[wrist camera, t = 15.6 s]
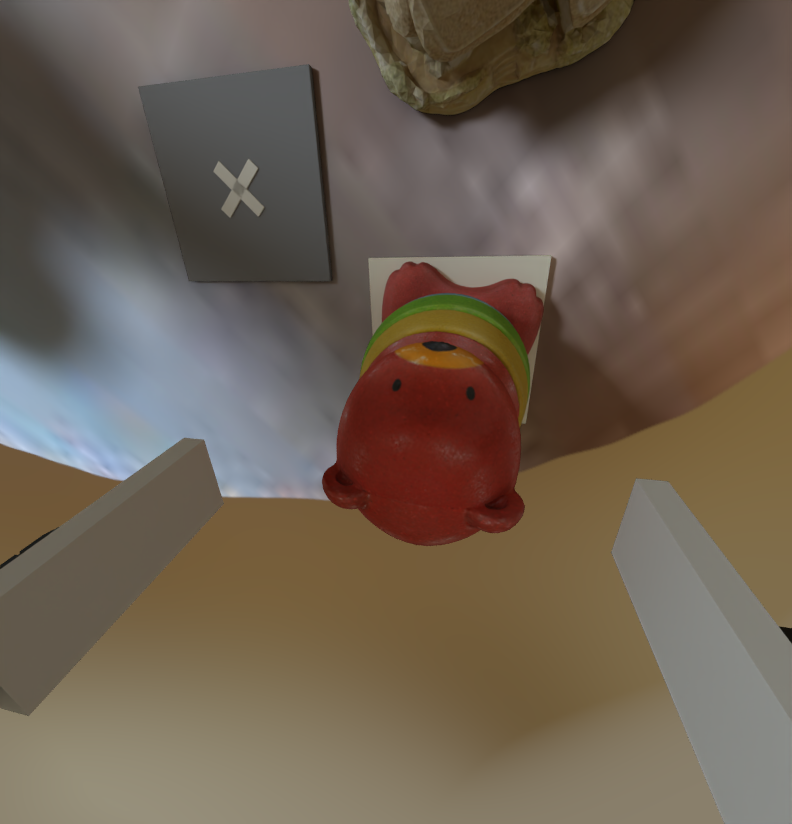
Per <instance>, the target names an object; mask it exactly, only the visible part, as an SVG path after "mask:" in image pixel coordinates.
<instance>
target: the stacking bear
mask: <svg viewBox="0 0 792 824" xmlns="http://www.w3.org/2000/svg"><path fill="white" fill-rule="evenodd" d="M543 312H544V306H543V301H542V300H541V298H539V297H537V296H536V289H535V287H534V286H533V285H531V284H529V283H524V284H522V283H520V282H519V281H518V280H517V279H505V280H502V281H499V282H497V283H494V284H491V285H488V286H483V287H465V286H461V285H458V284H455V283H453V282H451V281H449V280H448V279H446V278H445V277H444V276H443V275H442V274H441V273H440V272H439V271H438V270H437V269H436V268H434V267H433V266H432V265H430V264H428V263H425V262H421V263H419V264H416V263H414V262H412V261H409V262H406V263H404V264H403V265H402V266H401V268H400V269H399V270H395V271H394V272H392V273H391V274H390V276H389V278H388V280H387V283H386V286H385V291H384V296H383V304H382V323H381V325H380V326H379V327H378V329H377V330H376V332H375V333H374V335H373V337H372V338H371V340H370V342H369V344H368V347H367V349H366V352H365V354H364V358H363V361H362V366H361V372H360V378H359V381H358V382H357V384H356V385H355V387H354V389H353V390H352V392H351V394H350V396H349V398H348V400H347V402H346V404H345V407H344V410H343V413H342V416H341V419H340V423H339V428H338V435H337V461H336V463H335V464H334V465H333V466H331V467H330V468H328V469H327V470H326V472H325V473H324V475H323V479H322V484H323V490H324V492H325V494H326V495H327V497H328V498H329V500H330V501H331V502H332V503H334V504H335V505H337V506H339V507H341V508H345V509H357V508H358V509H359V510H360V511H361V513H362V514H363V515H364V516H365V517H366V518H367V519H368V520H369V521H370V522H372V523H373V524H374V525H375V526H377V527H378V528H379V529H381V530H382V531H384V532H385V533H387V534H388V535H390V536H392V537H394V538H396V539H399V540H402V541H404V542H407V543H412V544H415V545H423V546H433V545H443V544H449V543H452V542H456V541H459V540H462V539H464V538H467V537H469V536H471V535H473V534H475V533H476V532H478V531H480V530H482V531H485V532H489V533H500V532H504V531H507V530H509V529H511V528H512V527H513V526H515V525H516V524H517V523H518V522H519V520H520V519H521V517H522V516H523V513H524V508H525V505H524V503H523V500H522V498H521V497H520V496H519V495H518V494H517V492H516V491H515V489H514V487H515V484H516V480H517V475H518V471H519V465H520V455H521V435H520V426H521V424H522V420H523V417H524V414H525V410H526V406H527V402H528V398H529V391H530V367H529V360H528V356H527V355H528V354H529V352H530V350H531V348H532V346H533V344H534V341H535V339H536V336H537V334H538V331H539V328H540V325H541V321H542V317H543Z"/></svg>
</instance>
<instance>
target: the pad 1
mask: <svg viewBox="0 0 792 824" xmlns="http://www.w3.org/2000/svg"><path fill="white" fill-rule="evenodd" d="M138 88H139V92H140V96H141V100H142V104H143V107H144V111H145V115H146V119H147V123H148V126H149V130H150V134H151V138H152V142H153V145H154V149H155V153H156V157H157V161H158V164H159V168H160V172H161V176H162V180H163V183H164V187H165V191H166V195H167V199H168V203H169V206H170V210H171V214H172V218H173V222H174V225H175V229H176V233H177V237H178V241H179V244H180V248H181V252H182V256H183V260H184V263H185V267H186V271H187V275H188V279H189V281H332V273H331V262H330V252H329V242H328V231H327V221H326V211H325V200H324V190H323V180H322V169H321V159H320V149H319V138H318V128H317V118H316V107H315V97H314V87H313V76H312V67H311V66H310V65H309V64H308V65H300V66H293V67H285V68H277V69H270V70H262V71H255V72H247V73H239V74H232V75H224V76H217V77H209V78H201V79H194V80H186V81H179V82H171V83H163V84H156V85H148V86H141V87H138Z"/></svg>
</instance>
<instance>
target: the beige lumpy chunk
mask: <svg viewBox="0 0 792 824" xmlns="http://www.w3.org/2000/svg"><path fill="white" fill-rule="evenodd" d="M633 1H634V0H349V7H350V10H351V13H352V15H353V17H354V21H355V24H356V26H357V28H358V29H359V30H360V32H361V33H362V35H363V37H364V39H365V40H366V42H367V44H368V45H369V47H370V49H371V51H372V53H373V55H374V57H375V59H376V61H377V63H378V66H379V68H380V70H381V74H382V77H383V78H384V80H385V82H386V85H387V86H388V88H389V90H390V92H391V93H393V94H394V95H396V96H397V97H399V98H400V99H401V100H402V101H404V102H406V103H408V104H409V105H410V106H411V107H413V108H414V109H416V110H418V111H421V112H424V113H431V114H443V115H455V114H459V113H462V112H464V111H467V110H469V109H471V108H472V107H474V106H476V105H477V104H478V103H480V102H481V101H482V100H483V99H485V98H486V97H487V96H488V95H490V94H491V93H492V92H493V91H495V90H496V89H498V88H500V87H503V86H505V85H508V84H513V83H516V82H519V81H521V80H523V79H525V78H528V77H530V76H533V75H536V74H539V73H541V72H546V71H549V70H552V69H555V68H561V67H563V66H567V65H570V64H573V63H575V62H577V61H579V60H580V59H582V58H583V57H585V56H586V55H587V54H589V53H591V52H593V51H594V50H596V49H597V48H599V47H600V46H602V45H603V44H605V43H606V42H608V41H609V40H610V39H611V37H612V36H613V34H614V33H615V32H616V31H617V30H618V29H619V28H620V26H621V25H622V23H623V22H624V20H625V19H626V18H627V16H628V15H629V13H630V10H631V6H632V5H633Z"/></svg>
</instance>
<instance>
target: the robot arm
mask: <svg viewBox="0 0 792 824" xmlns="http://www.w3.org/2000/svg"><path fill="white" fill-rule="evenodd" d="M223 504H224V503H223V500H222V496H221V493H220V490H219V487H218V483H217V480H216V477H215V474H214V470H213V467H212V464H211V461H210V458H209V454H208V451H207V448H206V445H205V441H204V440H202V439H190V438H183V439H182V440H181V441H179V442H178V443H176V444H175V445H174V446H172V447H171V448H169V449H168V450H167V451H165V452H164V453H162V454H161V455H160V456H158V457H157V458H155V459H154V460H153V461H151V462H150V463H148V464H147V465H146V466H144V467H143V468H141V469H140V470H139V471H137V472H136V473H134V474H133V475H132V476H130V477H129V478H127V479H126V480H125V481H123V482H122V483H121V484H119V485H118V486H116V487H115V488H113V489H112V490H111V491H109V492H108V493H106V494H105V495H104V496H102V497H101V498H99V499H98V500H97V501H95V502H94V503H92V504H91V505H90V506H88V507H87V508H85V509H84V510H83V511H81V512H80V513H78V514H77V515H76V516H74V517H73V518H72V519H70V520H69V521H67V522H66V523H64V524H63V525H62V526H60V527H58V528H56V529H54V530H52V531H50V532H48V533H46V534H44V535H42V536H41V537H40V538H38V539H37V540H35V541H34V542H33V543H31V544H30V545H28V546H27V547H25V548H24V549H23V550H21V551H20V554H19V555H14V556H13V557H11V558H10V559H8V560H7V561H6V562H4V563H3V564H1V565H0V708H2V709H5V710H9V711H13V712H16V713H20V714H24V715H27V716H29V715H30V714H31V713H32V712H33V711H34V709H36V707H37V706H38V705H39V704H40V703H41V702H42V701H43V700H44V699H45V698H46V697H47V695H48V694H49V693H50V692H51V691H52V690H53V689H54V688H55V687H56V686H57V685H58V683H59V682H60V681H61V680H62V679H63V678H64V677H65V676H66V675H67V674H68V673H69V672H70V670H71V669H72V668H73V667H74V666H75V665H76V664H77V663H78V662H79V661H80V660H81V658H82V657H83V656H84V655H85V654H86V653H87V652H88V651H89V650H90V649H91V648H92V647H93V645H94V644H95V643H96V642H97V641H98V640H99V639H100V638H101V637H102V636H103V635H104V633H105V632H106V631H107V630H108V629H109V628H110V627H111V626H112V625H113V623H114V622H116V620H117V619H118V618H119V617H120V616H121V615H122V614H123V613H124V612H125V610H127V608H128V607H129V606H130V605H131V604H132V603H133V602H134V601H135V600H136V599H137V597H138V596H139V595H140V594H141V593H142V592H143V591H144V590H145V589H146V588H147V587H148V586H149V585H150V583H151V582H152V581H153V580H154V579H155V578H156V577H157V576H158V575H159V574H160V573H161V571H162V570H163V569H164V568H165V567H166V566H167V565H168V564H169V563H170V562H171V561H172V560H173V558H174V557H175V556H176V555H177V554H178V553H179V552H180V551H181V550H182V549H183V547H184V546H185V545H186V544H187V543H188V542H189V541H190V540H191V539H192V538H193V537H194V535H195V534H196V533H197V532H198V531H199V530H200V529H201V528H202V527H203V526H204V525H205V523H206V522H207V521H208V520H209V519H210V518H211V517H212V516H213V515H214V514H215V513H216V512H217V510H218V509H219V508H220V507H221V506H222V505H223ZM611 553H612V556H613V558H614V560H615V563H616V565H617V568H618V570H619V572H620V575H621V577H622V580H623V582H624V584H625V587H626V589H627V592H628V594H629V596H630V599H631V601H632V604H633V606H634V608H635V611H636V613H637V615H638V618H639V620H640V623H641V625H642V628H643V630H644V632H645V635H646V637H647V640H648V642H649V644H650V647H651V649H652V651H653V654H654V656H655V659H656V661H657V663H658V666H659V668H660V671H661V673H662V675H663V678H664V680H665V683H666V685H667V687H668V690H669V692H670V695H671V697H672V699H673V702H674V704H675V707H676V709H677V711H678V714H679V716H680V718H681V721H682V723H683V725H684V728H685V731H686V733H687V735H688V738H689V740H690V743H691V745H692V747H693V750H694V752H695V755H696V757H697V759H698V762H699V764H700V767H701V769H702V771H703V774H704V776H705V779H706V781H707V783H708V786H709V788H710V791H711V793H712V795H713V798H714V800H715V803H716V805H717V807H718V810H719V812H720V815H721V817H722V819H723V822H724V824H792V628H786V627H779V626H778V625H777V624H776V623H775V621H774V620H773V618H772V617H771V616H770V615H769V613H768V612H767V611H766V609H765V608H764V607H763V606H762V604H761V603H760V602H759V600H758V599H757V598H756V596H755V595H754V594H753V593H752V591H751V590H750V588H749V587H748V586H747V584H746V583H745V582H744V581H743V579H742V578H741V576H740V575H739V574H738V573H737V571H736V570H735V569H734V567H733V566H732V565H731V563H730V562H729V561H728V559H727V558H726V557H725V556H724V554H723V553H722V551H721V550H720V549H719V547H718V546H717V545H716V544H715V542H714V541H713V540H712V538H711V537H710V536H709V534H708V533H707V532H706V530H705V529H704V528H703V526H702V525H701V524H700V523H699V521H698V520H697V519H696V517H695V516H694V515H693V513H692V512H691V511H690V509H689V508H688V507H687V505H686V504H685V503H684V501H683V500H682V499H681V498H680V496H679V495H678V494H677V492H676V491H675V490H674V488H673V487H672V486H671V484H670V483H669V482H668V481H659V480H648V479H636V480H635V483H634V486H633V489H632V492H631V495H630V498H629V501H628V504H627V507H626V510H625V513H624V516H623V519H622V522H621V525H620V528H619V531H618V534H617V537H616V540H615V543H614V546H613V549H612V552H611Z"/></svg>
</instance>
